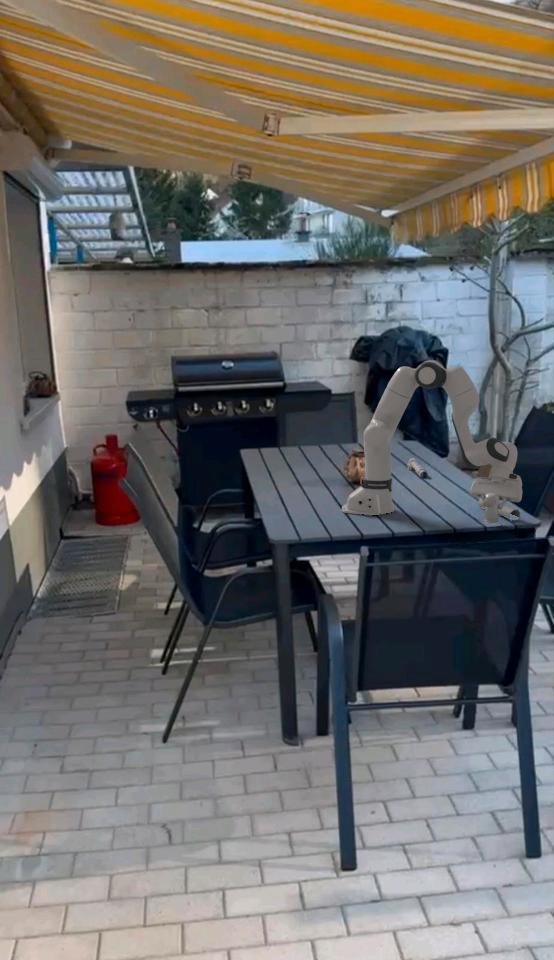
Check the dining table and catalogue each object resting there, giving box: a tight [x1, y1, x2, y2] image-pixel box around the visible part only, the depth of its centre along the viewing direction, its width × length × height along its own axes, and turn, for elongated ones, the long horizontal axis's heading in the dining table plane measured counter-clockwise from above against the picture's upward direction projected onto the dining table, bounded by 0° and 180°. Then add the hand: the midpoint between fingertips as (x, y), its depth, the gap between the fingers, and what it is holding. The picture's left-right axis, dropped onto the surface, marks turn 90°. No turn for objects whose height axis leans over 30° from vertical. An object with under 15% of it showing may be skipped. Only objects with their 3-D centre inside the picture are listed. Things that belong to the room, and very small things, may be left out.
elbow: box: [483, 493, 500, 523], centre depth 309 cm, size 8×6×11 cm
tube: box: [477, 498, 521, 519], centre depth 328 cm, size 5×5×25 cm
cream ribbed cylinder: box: [407, 457, 429, 479], centre depth 408 cm, size 5×7×25 cm
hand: (491, 507), depth 309 cm, fingers closed on elbow, 5 cm apart
